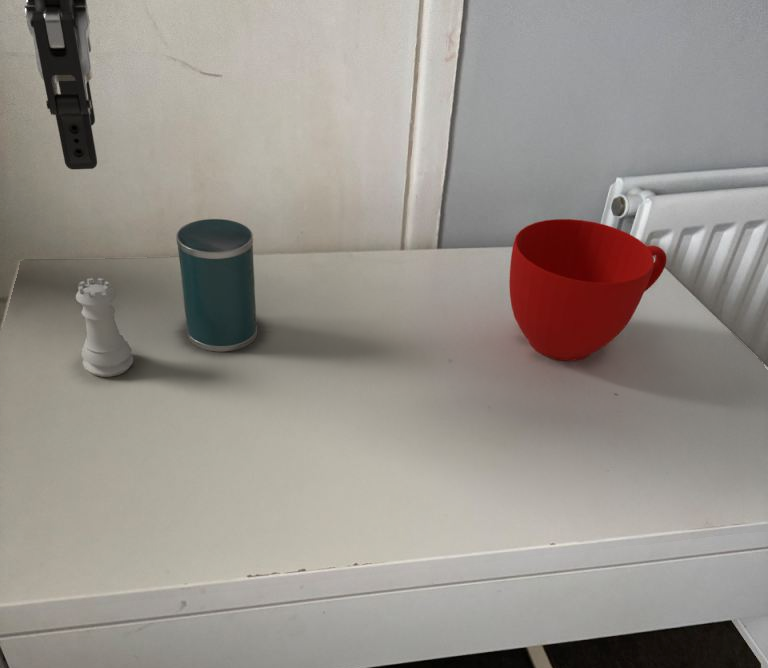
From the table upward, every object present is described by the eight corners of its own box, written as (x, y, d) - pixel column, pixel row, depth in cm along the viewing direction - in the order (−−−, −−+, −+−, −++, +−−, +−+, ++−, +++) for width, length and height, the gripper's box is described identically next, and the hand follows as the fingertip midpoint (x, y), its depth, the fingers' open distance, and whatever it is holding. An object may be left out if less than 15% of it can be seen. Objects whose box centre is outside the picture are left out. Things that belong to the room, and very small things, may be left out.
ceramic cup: (683, 357, 83) (717, 264, 76) (542, 391, 77) (565, 293, 70) (606, 295, 92) (630, 206, 85) (473, 321, 86) (488, 228, 79)
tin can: (174, 342, 79) (162, 243, 72) (206, 309, 84) (197, 213, 77) (239, 358, 78) (233, 258, 71) (268, 323, 83) (264, 227, 76)
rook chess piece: (82, 354, 77) (64, 274, 71) (132, 349, 78) (118, 270, 72) (84, 381, 74) (66, 300, 68) (136, 375, 75) (123, 295, 69)
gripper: (-22, -139, 56) (32, 113, 67) (-42, -103, 46) (25, 185, 58) (94, -134, 58) (128, 111, 69) (98, -99, 48) (137, 181, 59)
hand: (81, 145), depth 63 cm, fingers open, 8 cm apart
